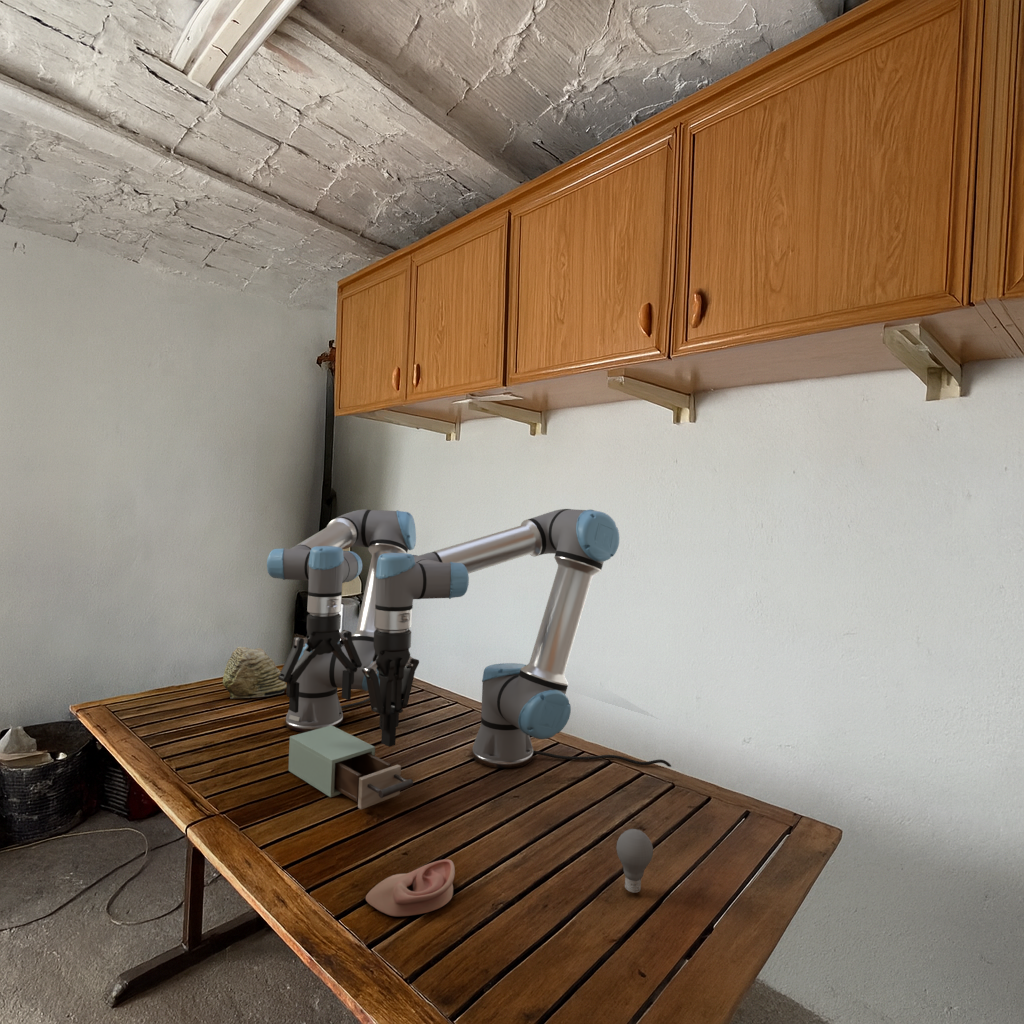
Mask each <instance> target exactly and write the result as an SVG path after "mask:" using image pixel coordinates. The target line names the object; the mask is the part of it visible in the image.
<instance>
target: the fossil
mask: <svg viewBox="0 0 1024 1024" xmlns="http://www.w3.org/2000/svg"><path fill="white" fill-rule="evenodd" d="M280 672H281V669H279V668H278V667H277V665H276V663H275V662H274V660H273V659H272V658H271V657H270V656H269V655H268V654H267V653H266V652H265V650H264V649H263V648H260V647H258V648H251V647H247V646H246V647H245V646H238V647H237V648H236V649H235V650H233V651H232V653H231V656H230V657H229V659H228V660H227V663H226V666H225V668H224V671H223V675H222V676H223V677H222V685H223V687H224V688H225V690H226V691H228V693H229V698H230V699H250V698H264V697H271V696H275V695H281V694H284V693H285V691H286V690H287V683H286V682H284V681H281V680H279V679H278V677H279V674H280Z"/></svg>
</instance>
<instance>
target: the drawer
mask: <svg viewBox="0 0 1024 1024" xmlns="http://www.w3.org/2000/svg"><path fill="white" fill-rule="evenodd" d="M401 772H402V766H401V765H400V764H398V763H397V764H395V765H392V764H391V763H389V762H387V761H385V760H383V759H382V758H379V757H378V756H376V755H375V756H374V755H372V754H370V753H365V754H362V755H359V756H356V757H353V758H350V759H347V760H343V761H340V762H337V763H335V782H334V789H336V790H338V791H339V792H341V793H342V795H344V796H346V797H347V798H349V799H351V800H352V801H354V802H355V803H357V808H358V809H359V810H363V809H366V808H369V807H372V806H374V805H377V804H380V803H381V802H384V801H387V800H389V799H392V798H395V797H397V796H400V794H401V791H404V790H405V789H409V788H411V787H413V785H414V781H413V779H412V778H408V779H406V778H404V777H402V776H401V775H402V773H401Z"/></svg>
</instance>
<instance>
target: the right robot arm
mask: <svg viewBox="0 0 1024 1024" xmlns="http://www.w3.org/2000/svg"><path fill="white" fill-rule="evenodd" d="M619 546H620V532H619V528H618V527H617V524H616V522H615V520H614V519H613V517H611V516H610V515H609V514H607V513H606V512H603V511H599V510H595V509H574V508H573V509H572V508H560V509H556V510H553V511H548V512H546V513H543V514H540V515H537V516H534V517H531V518H527V519H524V520H523V521H522V522H521V523H520V525H519V526H518V525H517V526H514V527H511V528H508V529H505V530H501V531H497V532H495V533H491V534H487V535H484V536H481V537H477V538H474V539H471V540H467V541H464V542H461V543H458V544H454V545H450V546H447V547H443V548H440V549H437V550H434V551H431V552H427V553H422V554H420V555H417V554H412V553H408V552H407V553H384V554H381V555H380V556H379V558H378V562H377V570H376V604H375V617H374V627H375V628H376V630H375V631H374V645H373V646H374V649H375V654H374V656H373V662H372V663H371V664H370V665H369V666H368V667H366V666H364V667H363V668H362V672H363V673H364V675H365V677H366V681H367V687H368V691H367V692H368V698H370V700H369V704H370V709H371V711H373V712H374V713H376V714H379V729H380V730H381V738H380V740H381V742H380V743H381V744H383V745H385V746H386V747H389V748H390V747H393V746H396V737H397V727H399V724H400V723H399V722H400V721H399V720H400V714H402V713H403V711H404V708H406V707H408V705H409V700H410V695H411V692H412V687H413V683H414V678H415V673H416V670H417V668H418V667H419V664H420V660H419V659H417V658H414V657H412V656H411V651H410V648H411V646H412V630H411V628H412V627H413V626H412V625H413V624H412V623H413V608H414V600H426V599H428V600H430V599H449V600H451V599H455V598H463V596H465V594H466V593H467V591H468V589H469V583H470V580H469V579H470V576H469V574H472V573H476V572H479V571H482V570H485V569H488V568H491V567H494V566H498V565H501V564H503V563H507V562H510V561H513V560H516V559H520V558H522V557H525V556H528V555H529V556H531V557H533V558H534V557H539V556H542V555H548V554H549V555H551V554H554V557H553V558H554V560H555V562H556V564H557V569H556V571H555V576H554V579H553V582H552V586H551V589H550V593H549V596H548V599H547V602H546V606H545V609H544V613H543V616H542V619H541V623H540V626H539V630H538V633H537V637H536V638H535V639H536V640H535V643H534V645H533V649H532V653H531V656H530V659H529V662H528V664H524V663H517V662H504V663H495V664H489V665H487V666H486V667H485V668H484V669H483V673H482V680H481V683H482V685H481V687H482V688H481V712H480V718H481V720H480V725H479V728H478V731H477V734H476V737H475V740H474V742H473V745H472V754H471V755H472V756H471V757H472V758H473V760H474V761H476V762H477V763H479V764H481V765H484V766H487V767H490V768H496V769H516V768H520V767H523V766H527V765H529V764H530V763H531V762H532V761H533V758H534V755H539V756H543V757H548V758H549V757H550V758H554V759H559V760H567V761H593V760H601V759H615V760H621V761H624V762H627V763H631V764H635V765H639V766H650V765H654V764H664V765H665V766H667V767H669V768H671V767H672V764H671V763H670V762H669V761H667V760H665V759H654V760H649V761H639V760H636V759H635V760H634V759H631V758H627V757H625V756H621V755H617V754H601V755H592V756H569V755H558V754H554V753H550V752H545V751H538V750H534V747H533V743H532V740H531V737H532V738H534V739H537V740H549V739H551V738H553V737H555V735H557V734H559V733H560V732H562V731H563V730H564V728H565V727H566V725H567V724H568V722H569V719H570V716H571V710H572V707H571V704H570V700H569V698H568V696H567V694H566V693H567V691H568V687H569V682H568V680H567V678H566V676H565V675H566V670H567V666H568V663H569V660H570V656H571V653H572V650H573V646H574V643H575V639H576V635H577V632H578V629H579V625H580V622H581V618H582V615H583V612H584V608H585V606H586V605H585V604H586V602H587V598H588V594H589V591H590V587H591V584H592V581H593V577H594V576H596V575H598V574H600V573H601V572H602V569H603V566H604V562H606V561H609V560H610V559H611V558H612V557H614V556H615V555H616V553H617V551H618V549H619ZM377 670H378V671H379V675H378V677H379V679H380V686H379V680H378V677H377V674H378V672H377Z"/></svg>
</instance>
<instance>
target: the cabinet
mask: <svg viewBox="0 0 1024 1024" xmlns="http://www.w3.org/2000/svg"><path fill="white" fill-rule="evenodd" d="M288 745H289V746H288V747H289V748H288V772H290V773H291V774H293V775H295V776H296V777H297V778H299V779H301V780H302V781H304V782H305V783H307V784H309V785H310V786H312V787H313V788H314V789H317V790H318V791H320V792H321V793H323V794H324V795H326V796H327V797H329V798H334V797H336V796H339V795H341V794H342V793H341V792H339V791H338V790H336V789H334V782H335V763H337V762H340V761H343V760H347V759H350V758H353V757H356V756H359V755H362V754H365V753H370V754H372V755H374V756H376V747H375V746H374V745H372V744H370V743H368V742H366V741H364V740H362V739H360V738H358V737H356V736H354V735H352V734H351V733H348V732H346V731H345V730H342V729H340V728H338V727H334V726H332V725H331V726H327V727H324V728H320V729H316V730H312V731H308V732H300V733H298V734H294V735H290V736H289V743H288ZM342 795H343V794H342Z"/></svg>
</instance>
